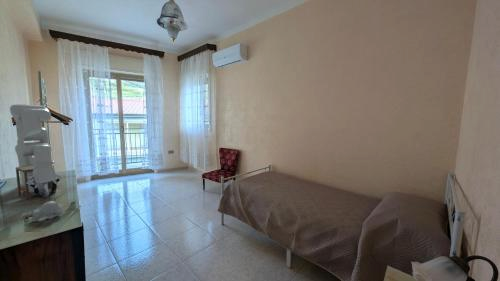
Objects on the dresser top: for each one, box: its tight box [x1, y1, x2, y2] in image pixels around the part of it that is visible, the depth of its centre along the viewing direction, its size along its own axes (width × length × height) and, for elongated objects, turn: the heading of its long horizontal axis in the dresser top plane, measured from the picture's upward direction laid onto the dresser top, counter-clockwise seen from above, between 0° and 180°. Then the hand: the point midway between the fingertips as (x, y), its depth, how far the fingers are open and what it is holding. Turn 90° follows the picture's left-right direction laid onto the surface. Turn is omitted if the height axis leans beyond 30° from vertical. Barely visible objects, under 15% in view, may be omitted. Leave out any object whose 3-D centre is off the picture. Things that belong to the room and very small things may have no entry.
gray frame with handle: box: [23, 182, 52, 199], centre depth 139 cm, size 19×10×10 cm, turn 62°
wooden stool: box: [15, 165, 57, 200], centre depth 140 cm, size 14×14×18 cm
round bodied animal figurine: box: [28, 200, 63, 223], centre depth 108 cm, size 7×12×8 cm, turn 127°
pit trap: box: [16, 187, 26, 195], centre depth 147 cm, size 10×10×2 cm
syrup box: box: [27, 173, 43, 192], centre depth 141 cm, size 6×6×14 cm
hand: (46, 191), depth 135 cm, fingers open, 7 cm apart
